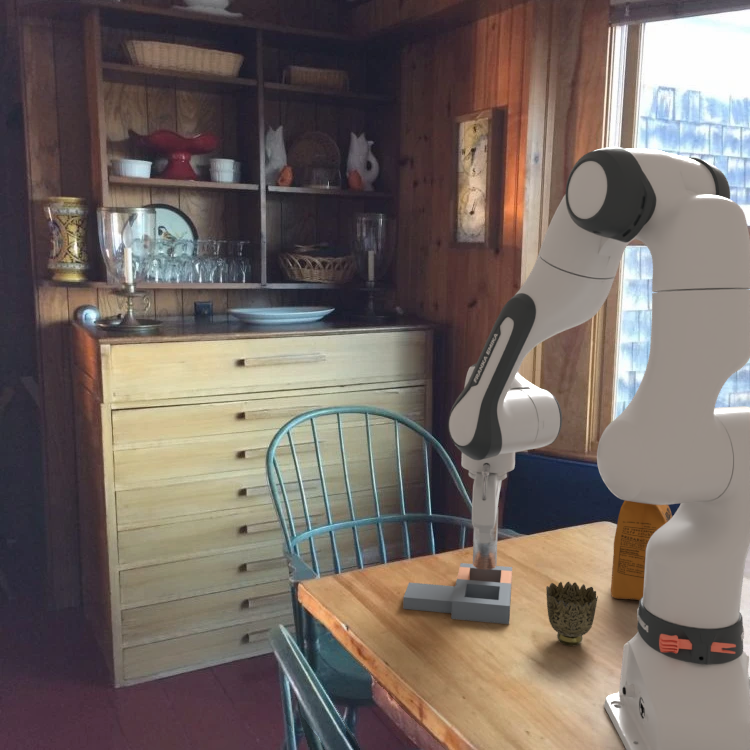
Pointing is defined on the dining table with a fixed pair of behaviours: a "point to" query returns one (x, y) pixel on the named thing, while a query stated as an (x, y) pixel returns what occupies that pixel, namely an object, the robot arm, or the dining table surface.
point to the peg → (485, 549)
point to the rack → (466, 595)
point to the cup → (571, 611)
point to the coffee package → (634, 546)
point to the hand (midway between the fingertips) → (485, 536)
